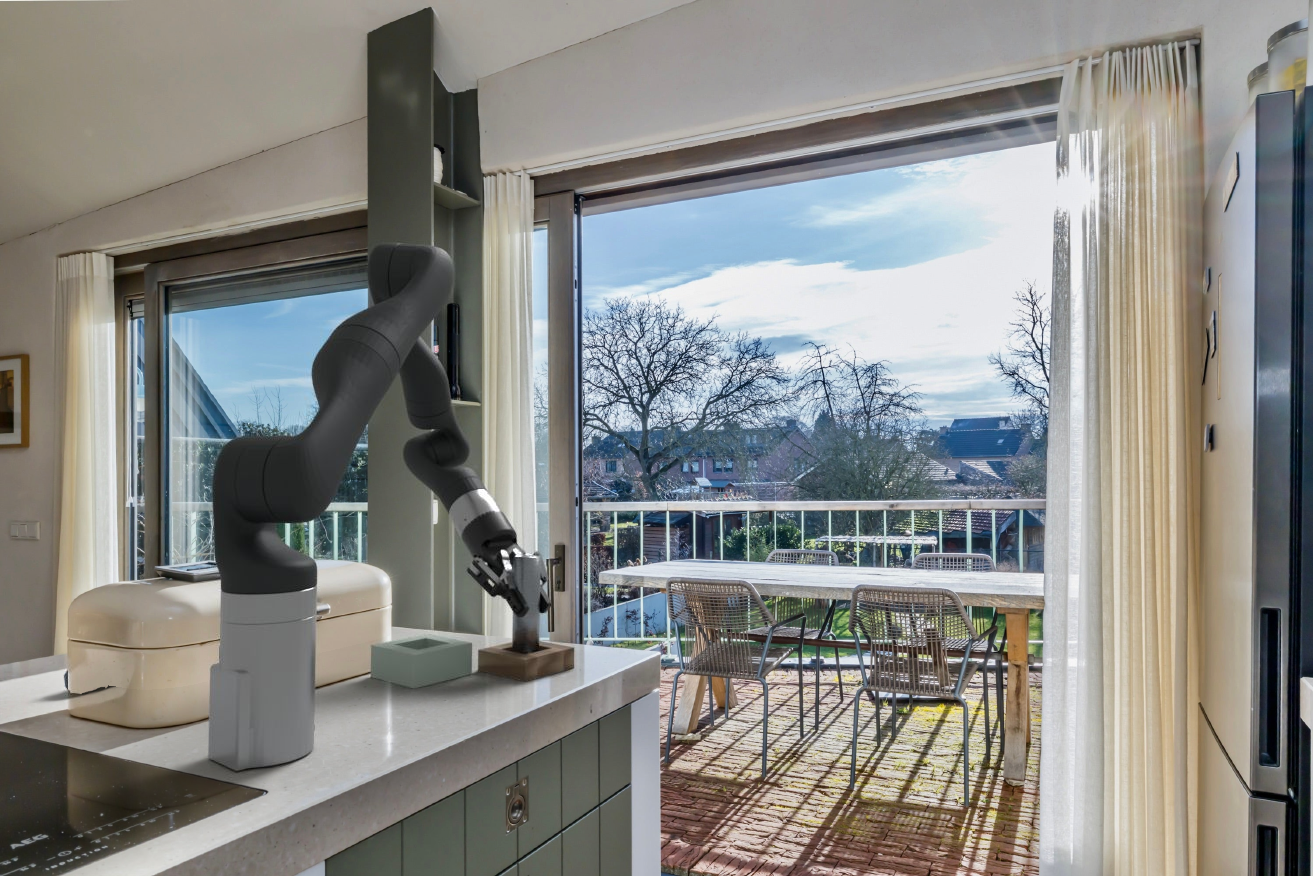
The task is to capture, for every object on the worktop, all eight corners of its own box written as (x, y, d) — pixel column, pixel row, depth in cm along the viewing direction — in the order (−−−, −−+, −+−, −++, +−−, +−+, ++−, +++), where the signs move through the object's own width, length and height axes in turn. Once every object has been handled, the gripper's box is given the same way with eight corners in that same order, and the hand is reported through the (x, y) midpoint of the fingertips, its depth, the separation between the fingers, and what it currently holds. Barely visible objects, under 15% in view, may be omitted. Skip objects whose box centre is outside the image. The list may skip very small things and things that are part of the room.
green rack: (413, 688, 112) (414, 655, 112) (370, 676, 118) (371, 644, 118) (471, 674, 120) (472, 642, 120) (428, 663, 126) (428, 633, 126)
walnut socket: (525, 681, 116) (525, 659, 116) (477, 670, 122) (478, 649, 122) (574, 667, 124) (574, 647, 124) (527, 657, 130) (527, 638, 130)
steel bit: (525, 669, 120) (526, 558, 121) (506, 665, 122) (507, 556, 123) (544, 664, 123) (546, 556, 124) (525, 660, 126) (527, 554, 126)
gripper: (457, 510, 123) (512, 601, 115) (527, 507, 134) (582, 590, 126) (434, 544, 126) (486, 635, 118) (504, 538, 137) (556, 621, 129)
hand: (535, 611), depth 122 cm, fingers closed on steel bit, 4 cm apart
